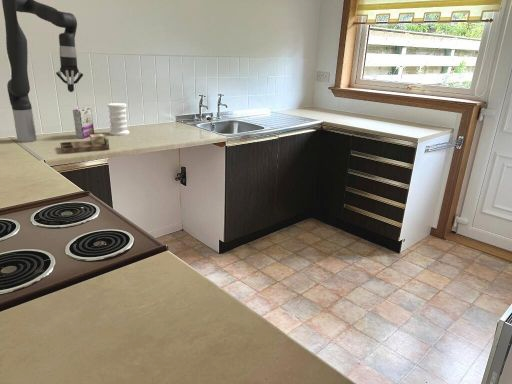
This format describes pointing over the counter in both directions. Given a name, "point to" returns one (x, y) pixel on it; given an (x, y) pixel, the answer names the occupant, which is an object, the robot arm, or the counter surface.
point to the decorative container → (118, 119)
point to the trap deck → (84, 146)
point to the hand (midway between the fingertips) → (71, 91)
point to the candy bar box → (83, 122)
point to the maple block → (97, 139)
